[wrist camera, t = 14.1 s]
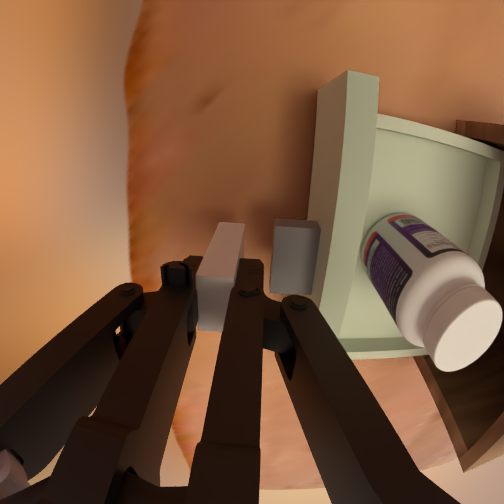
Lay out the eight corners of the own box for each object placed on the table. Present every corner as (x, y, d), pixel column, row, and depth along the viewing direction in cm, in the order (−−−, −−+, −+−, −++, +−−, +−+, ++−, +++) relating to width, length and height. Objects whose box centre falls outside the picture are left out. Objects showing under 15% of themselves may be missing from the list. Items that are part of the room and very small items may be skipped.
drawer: (280, 86, 16) (289, 62, 10) (482, 131, 16) (545, 143, 10) (261, 340, 24) (259, 408, 18) (427, 339, 24) (457, 392, 17)
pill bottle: (386, 297, 20) (440, 396, 11) (344, 249, 19) (398, 351, 10) (439, 249, 18) (520, 327, 9) (403, 194, 17) (500, 258, 8)
